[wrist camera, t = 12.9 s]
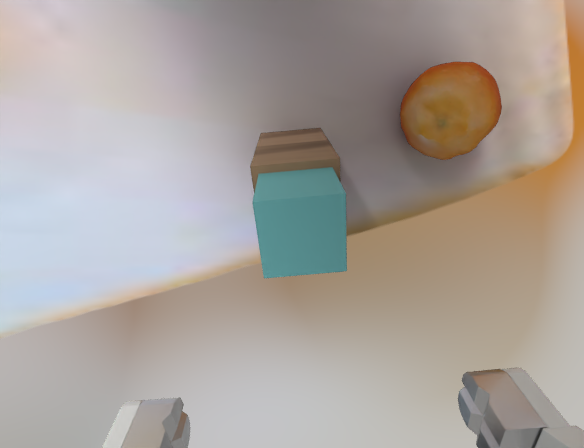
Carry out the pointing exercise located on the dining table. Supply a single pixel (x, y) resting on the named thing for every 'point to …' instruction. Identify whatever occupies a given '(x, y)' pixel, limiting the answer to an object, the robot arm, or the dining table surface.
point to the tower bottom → (291, 137)
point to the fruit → (450, 109)
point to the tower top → (294, 158)
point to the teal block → (301, 222)
